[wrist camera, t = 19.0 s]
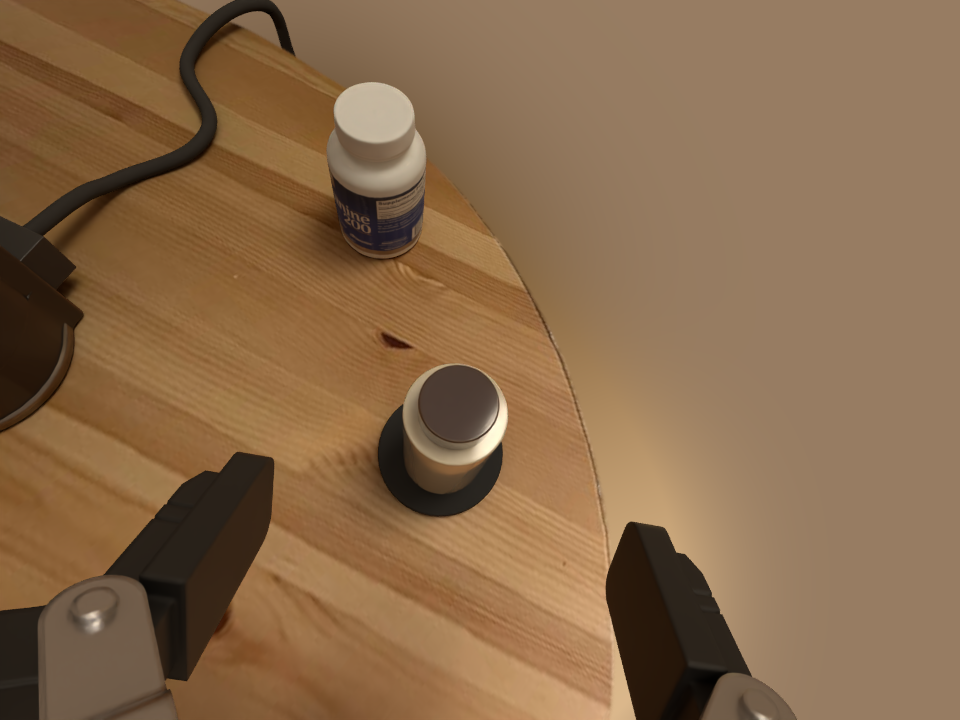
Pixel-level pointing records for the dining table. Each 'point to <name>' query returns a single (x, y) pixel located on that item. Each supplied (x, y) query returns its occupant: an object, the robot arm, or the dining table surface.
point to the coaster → (417, 496)
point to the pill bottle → (377, 170)
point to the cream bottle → (451, 426)
